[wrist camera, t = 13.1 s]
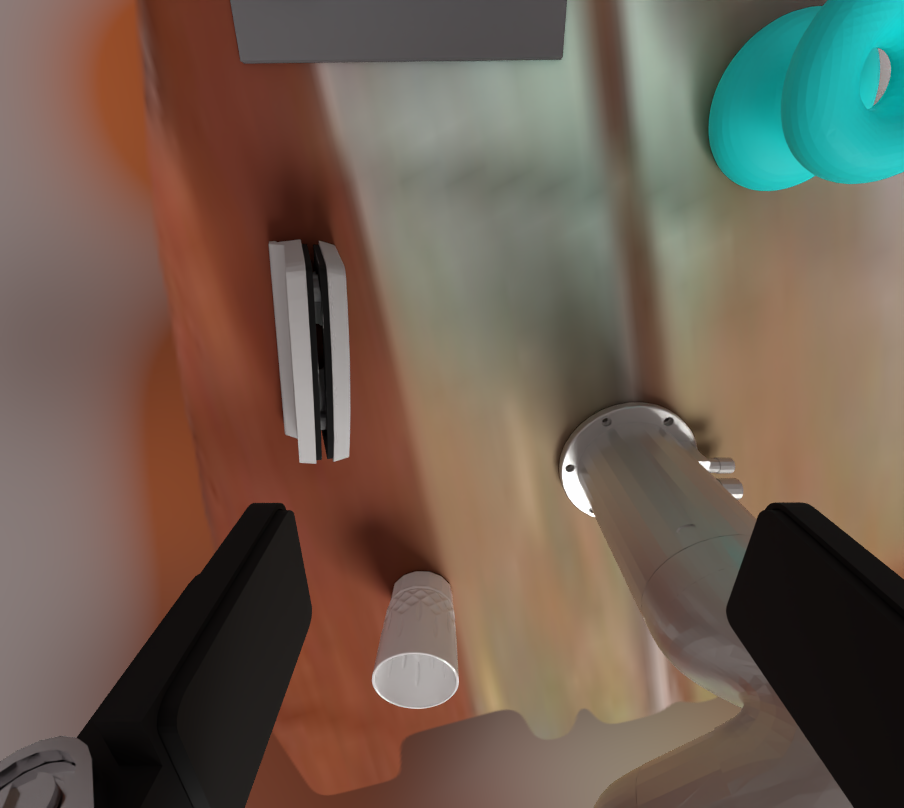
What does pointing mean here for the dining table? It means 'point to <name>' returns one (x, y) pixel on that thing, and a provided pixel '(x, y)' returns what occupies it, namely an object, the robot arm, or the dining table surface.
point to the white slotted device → (312, 346)
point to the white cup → (418, 644)
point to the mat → (398, 30)
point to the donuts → (813, 99)
